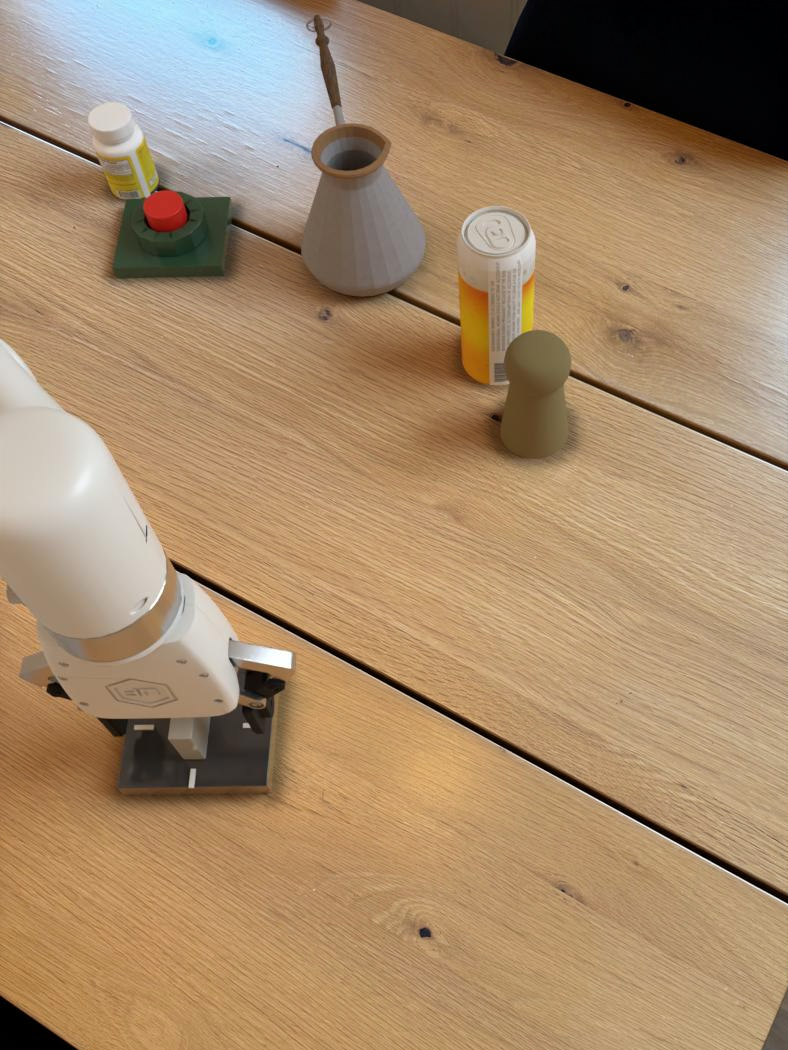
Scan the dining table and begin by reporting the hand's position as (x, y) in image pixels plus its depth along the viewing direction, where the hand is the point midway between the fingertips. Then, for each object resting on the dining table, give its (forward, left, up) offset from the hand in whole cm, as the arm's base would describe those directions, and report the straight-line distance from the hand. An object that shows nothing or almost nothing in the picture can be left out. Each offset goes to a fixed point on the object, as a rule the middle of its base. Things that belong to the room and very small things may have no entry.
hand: (192, 715), depth 73 cm
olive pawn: (+25, +27, -5) cm, 37 cm away
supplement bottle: (-13, +58, -5) cm, 60 cm away
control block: (-8, +50, -5) cm, 51 cm away
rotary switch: (0, 0, -5) cm, 5 cm away
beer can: (+22, +35, -5) cm, 42 cm away
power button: (-8, +50, -1) cm, 51 cm away
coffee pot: (+9, +52, -5) cm, 53 cm away
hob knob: (0, 0, -2) cm, 2 cm away
